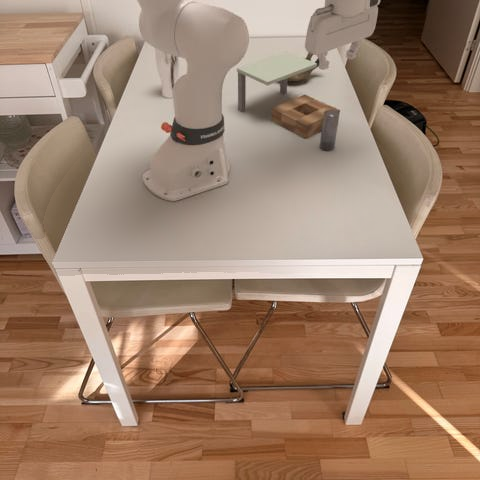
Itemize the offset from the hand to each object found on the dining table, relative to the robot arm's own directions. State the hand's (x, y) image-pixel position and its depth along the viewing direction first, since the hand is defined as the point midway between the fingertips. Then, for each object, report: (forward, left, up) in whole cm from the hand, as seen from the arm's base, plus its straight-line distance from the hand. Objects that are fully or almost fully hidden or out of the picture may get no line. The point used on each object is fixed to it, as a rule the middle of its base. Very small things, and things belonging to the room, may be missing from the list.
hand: (337, 63), depth 109 cm
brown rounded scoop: (+27, +37, -23) cm, 51 cm away
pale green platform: (+6, +26, -23) cm, 35 cm away
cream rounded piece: (-13, +55, -23) cm, 61 cm away
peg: (0, -1, -23) cm, 23 cm away
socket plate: (+6, +13, -23) cm, 27 cm away
